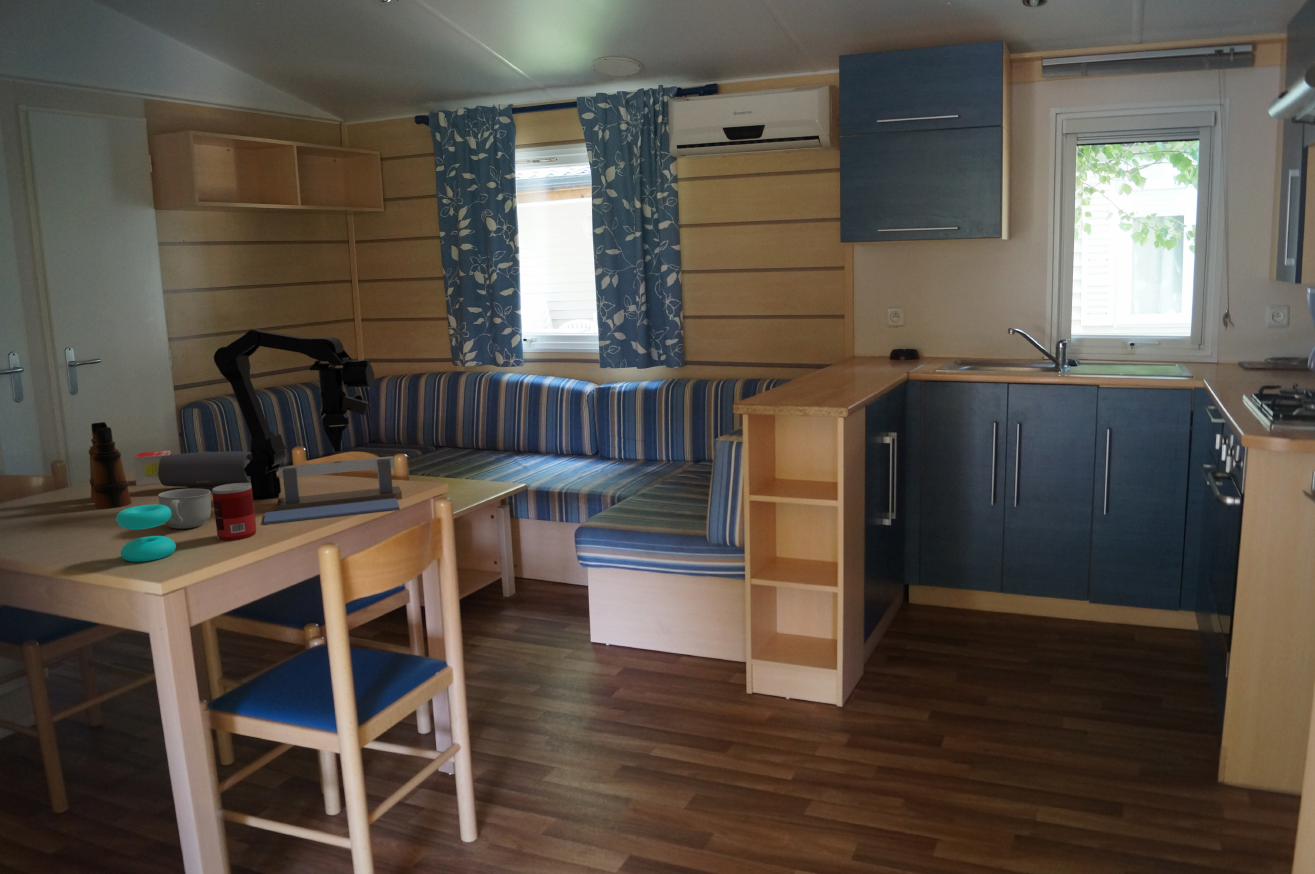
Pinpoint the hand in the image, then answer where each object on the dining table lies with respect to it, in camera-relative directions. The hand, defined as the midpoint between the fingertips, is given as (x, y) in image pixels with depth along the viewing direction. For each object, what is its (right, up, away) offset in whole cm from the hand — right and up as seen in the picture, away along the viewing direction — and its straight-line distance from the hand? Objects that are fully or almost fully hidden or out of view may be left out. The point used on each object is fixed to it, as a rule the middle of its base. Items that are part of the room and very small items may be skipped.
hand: (336, 448), depth 249 cm
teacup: (-26, -18, -26) cm, 41 cm away
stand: (+3, -13, -6) cm, 15 cm away
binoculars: (-60, -14, +4) cm, 61 cm away
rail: (+3, -6, -7) cm, 10 cm away
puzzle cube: (-61, -10, +29) cm, 68 cm away
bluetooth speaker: (-40, -11, +16) cm, 44 cm away
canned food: (-10, -19, -35) cm, 41 cm away
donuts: (-22, -22, -49) cm, 58 cm away
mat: (+5, -15, -17) cm, 23 cm away
